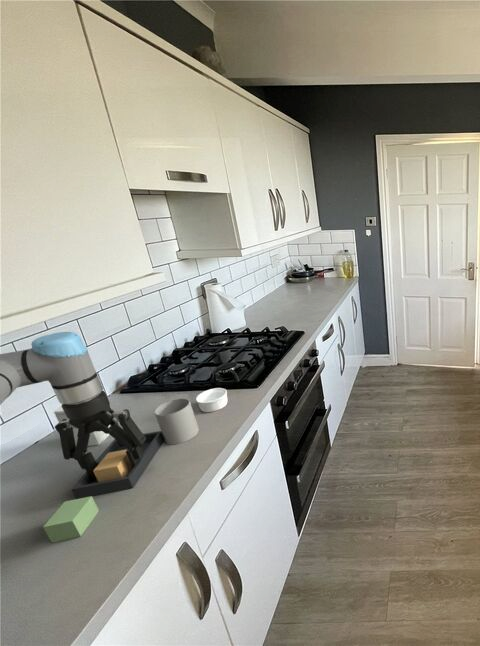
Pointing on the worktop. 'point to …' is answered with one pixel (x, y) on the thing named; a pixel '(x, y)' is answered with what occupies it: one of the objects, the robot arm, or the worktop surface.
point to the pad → (71, 519)
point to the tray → (97, 488)
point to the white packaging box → (94, 437)
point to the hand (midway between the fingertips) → (117, 472)
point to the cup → (176, 421)
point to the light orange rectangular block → (113, 466)
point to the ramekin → (212, 399)
